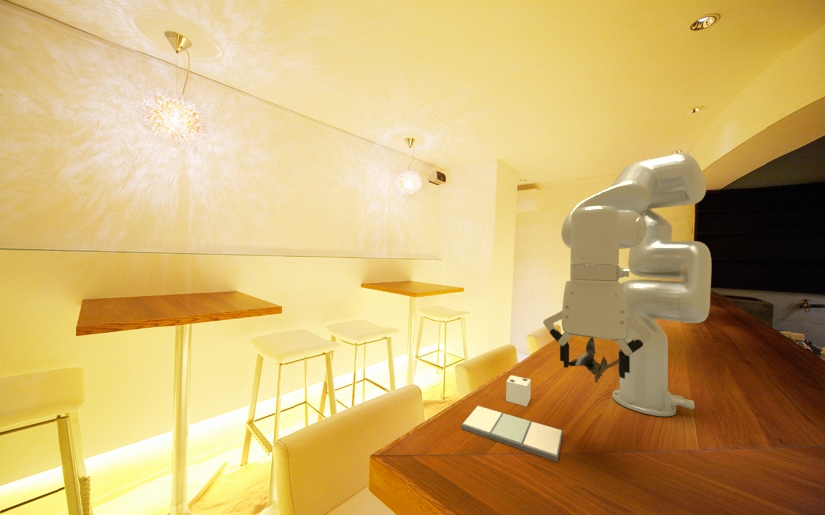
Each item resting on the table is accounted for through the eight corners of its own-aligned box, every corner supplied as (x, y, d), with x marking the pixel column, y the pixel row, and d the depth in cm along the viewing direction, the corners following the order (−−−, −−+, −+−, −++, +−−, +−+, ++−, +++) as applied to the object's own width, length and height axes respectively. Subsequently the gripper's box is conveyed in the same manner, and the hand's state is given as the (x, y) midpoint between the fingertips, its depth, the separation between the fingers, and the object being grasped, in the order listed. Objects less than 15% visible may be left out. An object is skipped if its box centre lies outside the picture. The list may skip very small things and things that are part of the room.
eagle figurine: (631, 378, 50) (602, 352, 59) (611, 345, 49) (585, 324, 58) (590, 398, 51) (568, 370, 60) (570, 366, 50) (550, 342, 59)
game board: (562, 434, 59) (562, 429, 59) (557, 462, 51) (557, 456, 51) (477, 409, 69) (477, 404, 69) (461, 428, 60) (461, 423, 60)
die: (530, 398, 75) (530, 379, 75) (526, 406, 71) (527, 385, 71) (510, 393, 78) (510, 374, 78) (505, 401, 73) (506, 380, 74)
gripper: (651, 275, 52) (650, 374, 51) (544, 272, 61) (543, 356, 61) (659, 277, 45) (658, 390, 45) (539, 273, 54) (538, 366, 54)
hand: (592, 370), depth 53 cm, fingers closed on eagle figurine, 8 cm apart
